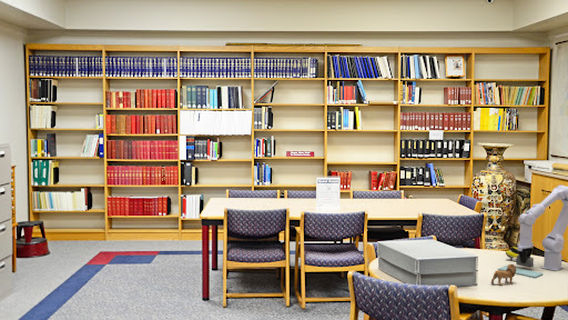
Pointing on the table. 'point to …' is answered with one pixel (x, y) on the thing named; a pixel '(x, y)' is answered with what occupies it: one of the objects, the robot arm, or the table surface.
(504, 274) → the lion figurine
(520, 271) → the desk mat
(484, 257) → the table surface
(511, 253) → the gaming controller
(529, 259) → the connector
